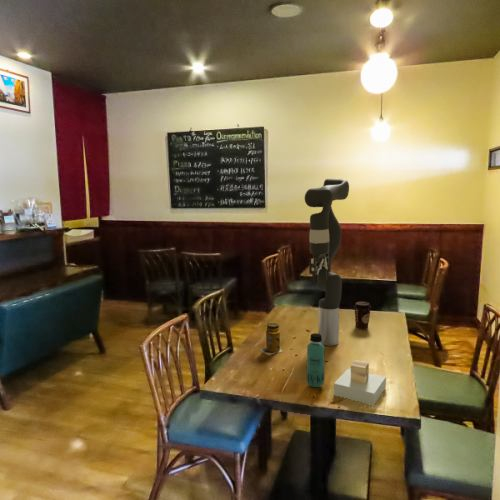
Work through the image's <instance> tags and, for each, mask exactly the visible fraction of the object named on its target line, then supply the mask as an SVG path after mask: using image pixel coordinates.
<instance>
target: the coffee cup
mask: <svg viewBox="0 0 500 500" xmlns="http://www.w3.org/2000/svg"><path fill="white" fill-rule="evenodd" d="M353 309H354V317H355V318H354V322H355V325H354V327H355V329H357V330H362V331H363V330H367V329H369V323H370V317H371V309H372V306H371V305H370V302H368V301H357V302H355V304H354V305H353Z"/></svg>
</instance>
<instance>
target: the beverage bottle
mask: <svg viewBox="0 0 500 500" xmlns="http://www.w3.org/2000/svg"><path fill="white" fill-rule="evenodd" d="M309 341H310V343H308V344H307V345H306V348H307V349H306V351H307V352H306V353H307V354H306V383H307V385H308V386H310V387H314V388H315V387H316V388H318V387H321V386H323V385H324V383H325V349H326V347H325V345H323V344H322V343H320V342H321V341H322V336H321V334H319V332H318V333H317V332H314V333H311V334H310V340H309Z"/></svg>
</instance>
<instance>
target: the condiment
mask: <svg viewBox="0 0 500 500" xmlns="http://www.w3.org/2000/svg"><path fill="white" fill-rule="evenodd" d="M266 327H267V328H266V332H265V333H266V334H265V336H266V337H265V339H266V341H265V342H266V347H264V348H260V349H259V351H260V352H262V353H263V354H265V355H267V356H271V355H274V354H279V353H282V352H284V350H282V349H281V339H280V338H281V333H280V325H279V323H276V322H271V323H268V324H267V325H266Z"/></svg>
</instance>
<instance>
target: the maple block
mask: <svg viewBox="0 0 500 500" xmlns="http://www.w3.org/2000/svg"><path fill="white" fill-rule="evenodd" d="M350 369H351V382H356V383H361V384H365V383H366V382H367V380H368V378H369V373H370V372H369V369H370V362H367V361H364V360H363V361H362V360H357V359H354V360H353V362H352V363H351V364H350Z"/></svg>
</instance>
